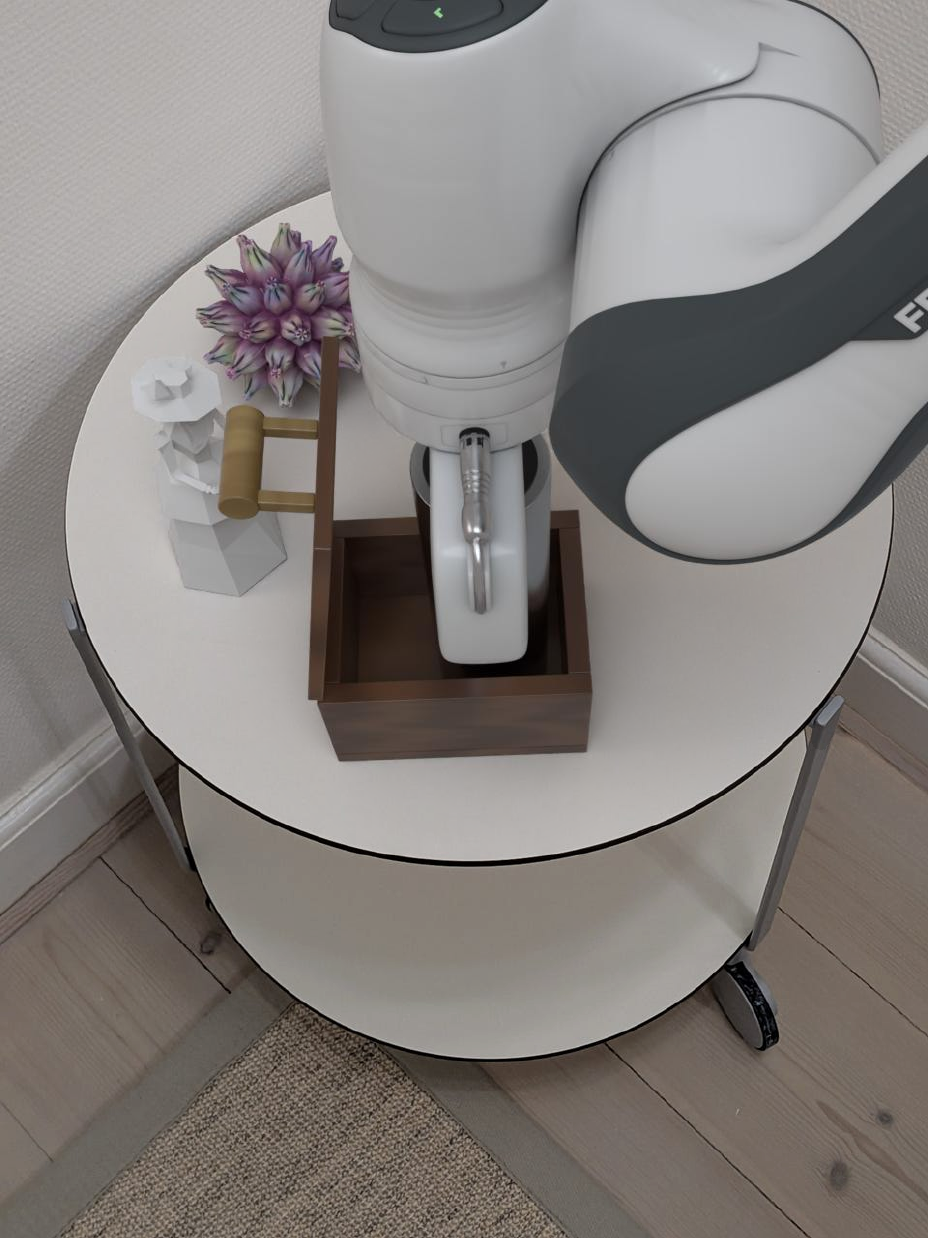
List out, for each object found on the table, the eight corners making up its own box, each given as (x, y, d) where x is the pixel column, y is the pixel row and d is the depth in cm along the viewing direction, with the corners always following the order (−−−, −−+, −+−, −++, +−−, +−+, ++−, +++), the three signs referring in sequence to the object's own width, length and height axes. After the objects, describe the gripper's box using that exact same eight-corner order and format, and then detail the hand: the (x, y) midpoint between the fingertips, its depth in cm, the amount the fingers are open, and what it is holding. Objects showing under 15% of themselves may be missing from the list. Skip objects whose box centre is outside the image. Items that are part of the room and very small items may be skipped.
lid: (339, 335, 57) (228, 328, 56) (332, 550, 51) (209, 544, 51) (329, 516, 70) (239, 511, 69) (323, 701, 64) (225, 698, 64)
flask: (569, 651, 73) (580, 452, 56) (499, 729, 71) (488, 547, 53) (486, 592, 75) (472, 381, 58) (417, 665, 73) (379, 470, 56)
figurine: (274, 601, 77) (208, 426, 61) (151, 584, 78) (55, 407, 62) (301, 507, 80) (245, 318, 65) (183, 492, 82) (98, 302, 66)
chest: (574, 581, 77) (578, 508, 70) (586, 752, 72) (592, 693, 64) (343, 591, 77) (323, 520, 70) (338, 762, 72) (316, 704, 65)
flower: (391, 336, 89) (376, 449, 81) (224, 331, 89) (194, 444, 81) (383, 190, 80) (366, 301, 72) (198, 185, 80) (162, 296, 73)
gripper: (568, 564, 43) (558, 721, 56) (539, 151, 53) (536, 362, 65) (388, 571, 43) (417, 725, 56) (392, 158, 53) (416, 367, 65)
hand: (481, 526), depth 60 cm, fingers open, 8 cm apart
